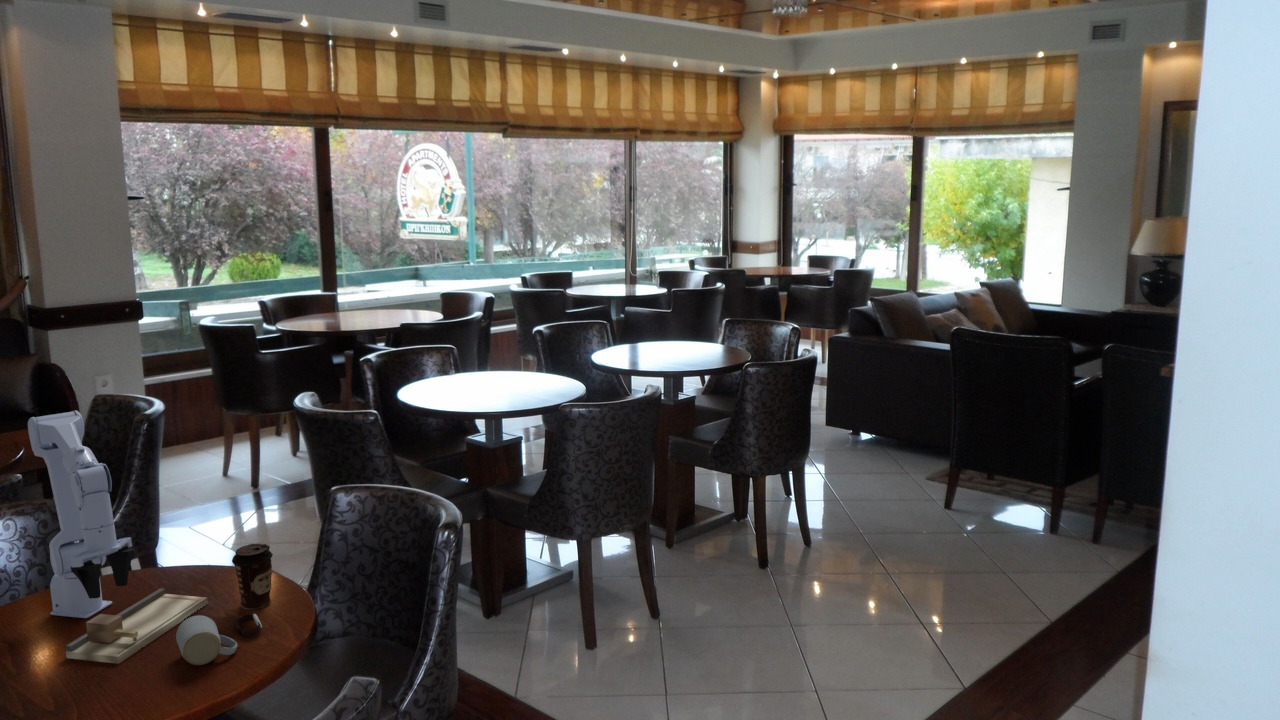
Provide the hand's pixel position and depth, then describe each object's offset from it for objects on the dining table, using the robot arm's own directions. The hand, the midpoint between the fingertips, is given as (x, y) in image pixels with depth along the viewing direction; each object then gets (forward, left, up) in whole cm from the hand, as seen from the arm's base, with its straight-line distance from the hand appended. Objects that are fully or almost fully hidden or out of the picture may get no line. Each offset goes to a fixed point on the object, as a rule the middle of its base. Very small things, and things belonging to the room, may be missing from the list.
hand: (108, 591), depth 204 cm
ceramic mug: (+22, -1, -12) cm, 25 cm away
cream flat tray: (+1, +7, -11) cm, 13 cm away
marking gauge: (+1, -1, -10) cm, 10 cm away
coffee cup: (+18, +23, -12) cm, 31 cm away
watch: (+24, +11, -12) cm, 29 cm away
